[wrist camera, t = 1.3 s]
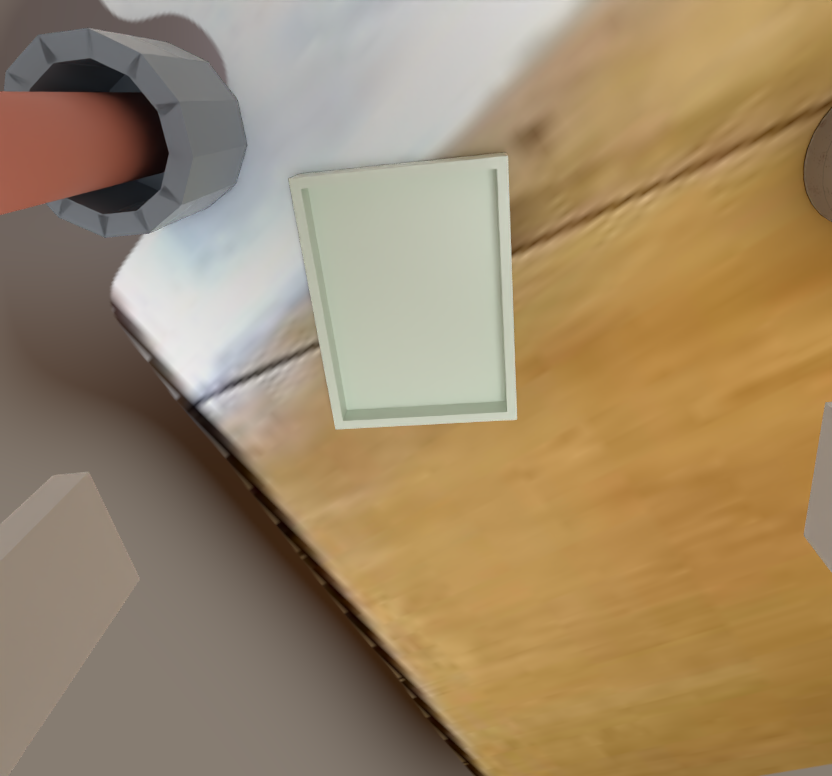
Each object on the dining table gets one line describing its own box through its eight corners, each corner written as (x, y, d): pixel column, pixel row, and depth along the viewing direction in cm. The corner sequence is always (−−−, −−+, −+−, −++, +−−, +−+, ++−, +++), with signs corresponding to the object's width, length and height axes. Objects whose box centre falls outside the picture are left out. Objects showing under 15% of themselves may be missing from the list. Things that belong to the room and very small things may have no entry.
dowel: (118, 96, 33) (-302, 99, 15) (187, 88, 32) (-160, 80, 14) (140, 173, 34) (-211, 258, 16) (206, 166, 34) (-83, 245, 16)
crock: (72, 54, 33) (-30, 44, 26) (223, 34, 32) (158, 18, 25) (122, 215, 36) (45, 243, 30) (259, 202, 35) (211, 227, 29)
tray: (297, 174, 34) (288, 178, 33) (505, 152, 33) (507, 155, 31) (341, 414, 41) (335, 429, 40) (514, 404, 40) (516, 419, 38)
